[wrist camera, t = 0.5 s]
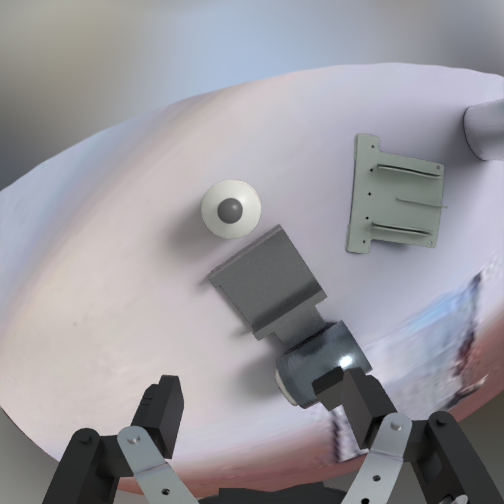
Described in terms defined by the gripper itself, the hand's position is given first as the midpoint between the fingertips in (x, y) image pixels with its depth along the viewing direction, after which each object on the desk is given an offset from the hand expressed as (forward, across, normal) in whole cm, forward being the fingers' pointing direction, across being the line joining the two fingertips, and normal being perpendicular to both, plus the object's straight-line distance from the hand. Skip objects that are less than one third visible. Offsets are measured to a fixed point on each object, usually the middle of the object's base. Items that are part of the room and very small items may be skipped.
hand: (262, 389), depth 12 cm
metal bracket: (+24, -19, -8) cm, 31 cm away
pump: (+23, +2, -7) cm, 24 cm away
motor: (+23, -5, +8) cm, 25 cm away
